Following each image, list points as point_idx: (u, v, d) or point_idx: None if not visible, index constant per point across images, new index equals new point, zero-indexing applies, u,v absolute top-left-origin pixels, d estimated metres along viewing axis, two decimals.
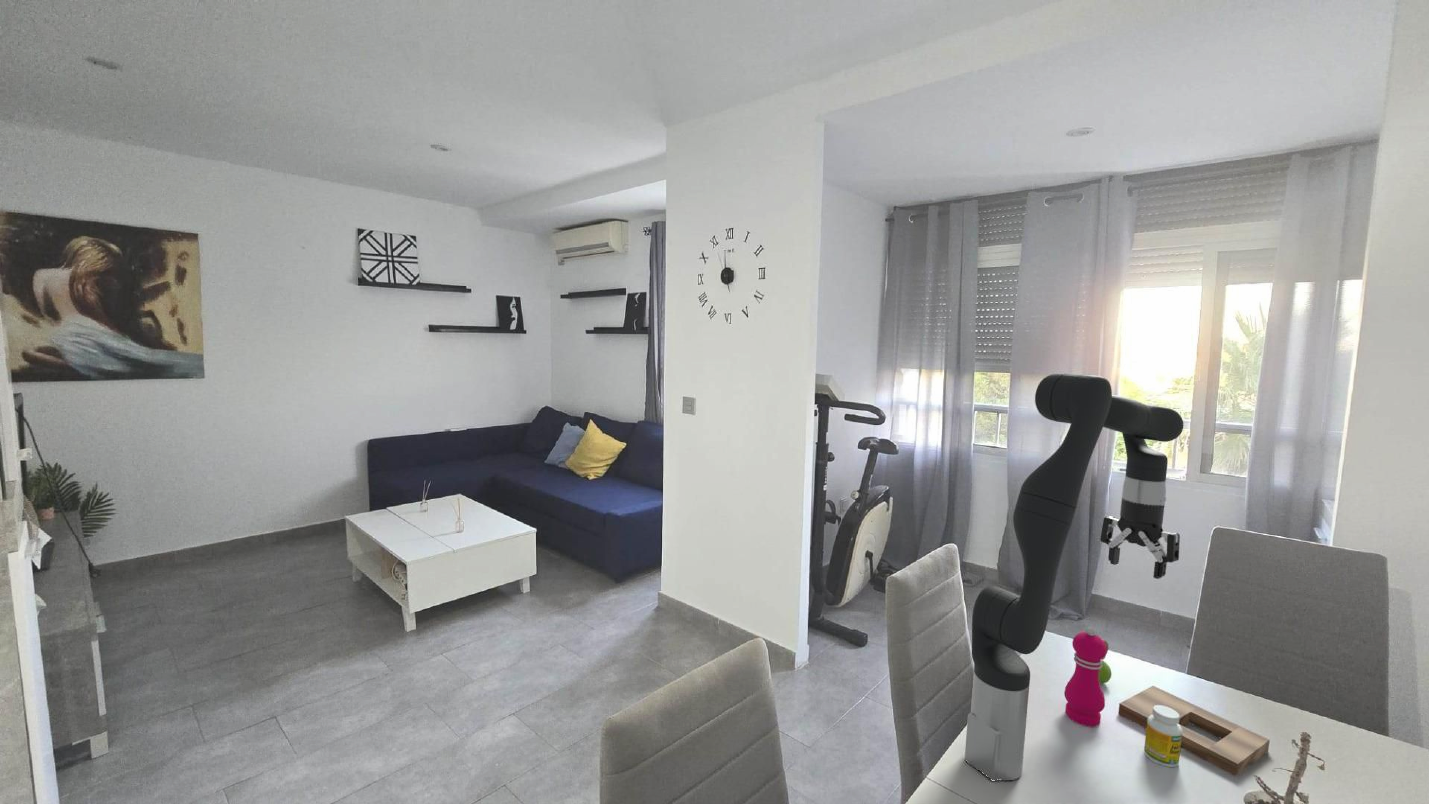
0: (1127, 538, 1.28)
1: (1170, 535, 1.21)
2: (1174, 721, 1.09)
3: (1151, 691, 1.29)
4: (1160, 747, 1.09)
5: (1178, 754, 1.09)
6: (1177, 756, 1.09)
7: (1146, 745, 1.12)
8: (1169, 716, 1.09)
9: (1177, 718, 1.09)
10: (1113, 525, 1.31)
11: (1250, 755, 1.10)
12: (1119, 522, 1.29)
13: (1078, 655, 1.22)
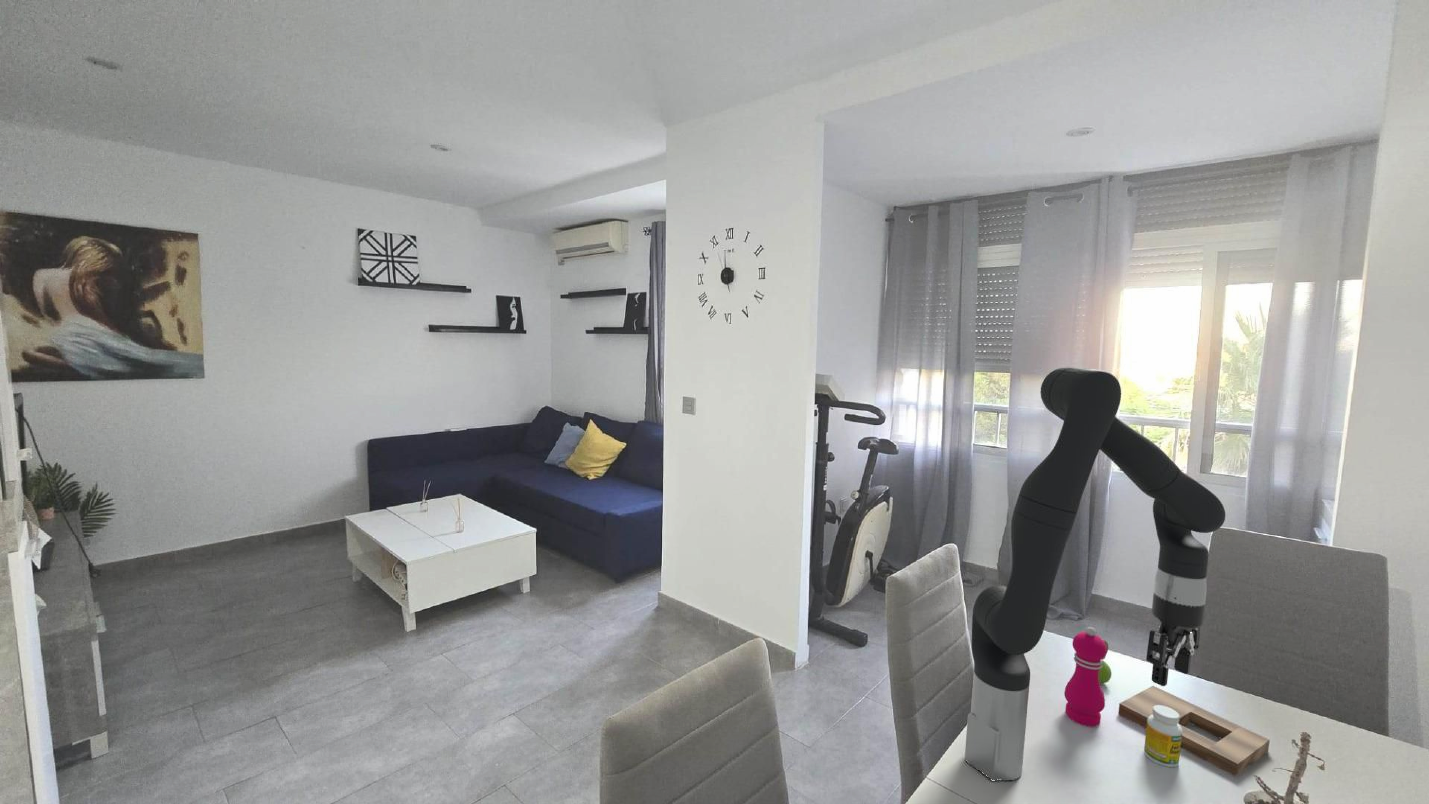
0: None
1: None
2: (1174, 721, 1.09)
3: (1151, 691, 1.29)
4: (1160, 747, 1.09)
5: (1178, 754, 1.09)
6: (1177, 756, 1.09)
7: (1146, 745, 1.12)
8: (1169, 716, 1.09)
9: (1177, 718, 1.09)
10: None
11: (1250, 755, 1.10)
12: (1172, 634, 1.06)
13: (1078, 655, 1.22)
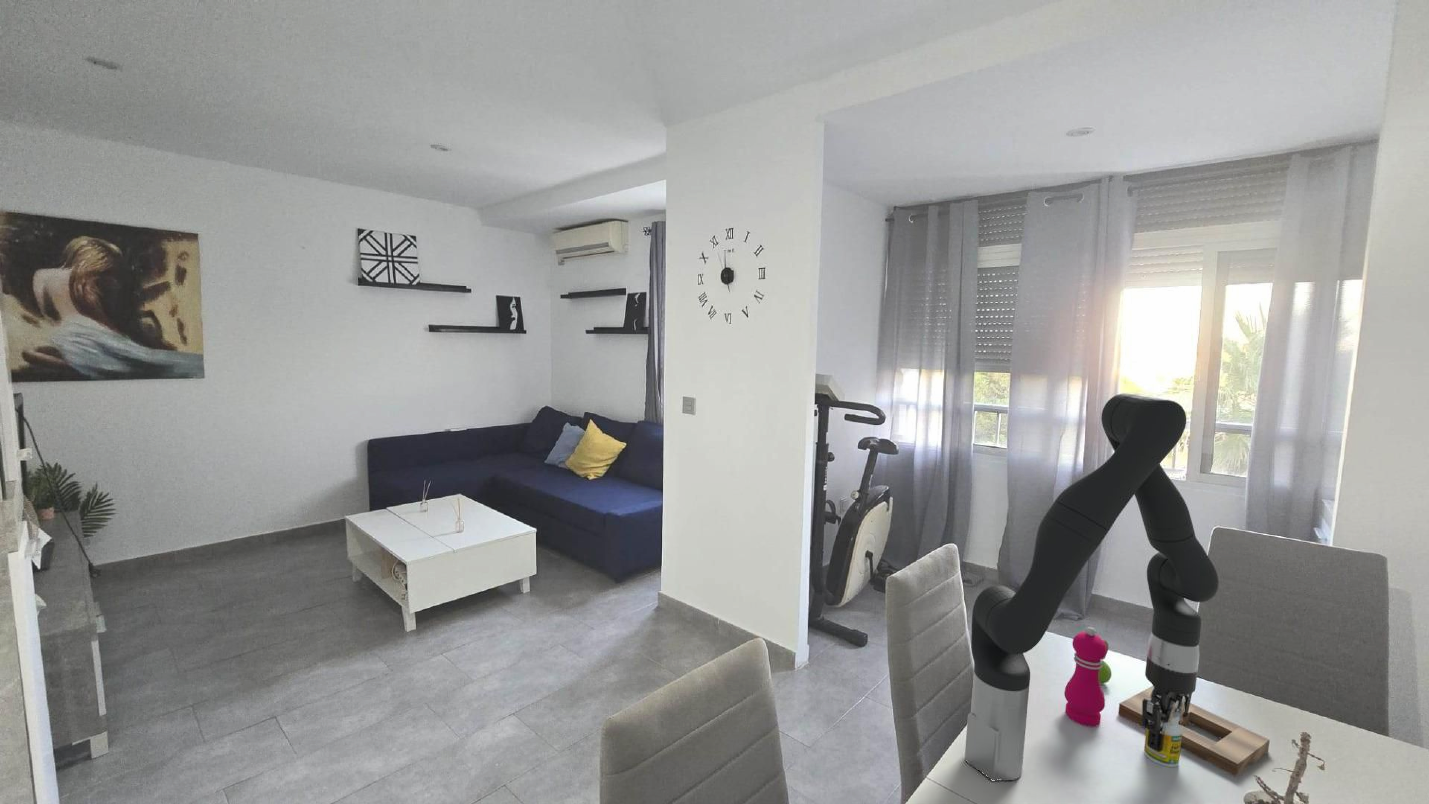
0: None
1: None
2: (1174, 721, 1.09)
3: (1151, 691, 1.29)
4: None
5: (1178, 754, 1.09)
6: (1177, 756, 1.09)
7: (1146, 745, 1.12)
8: None
9: (1177, 718, 1.09)
10: None
11: (1250, 755, 1.10)
12: (1165, 700, 1.08)
13: (1078, 655, 1.22)
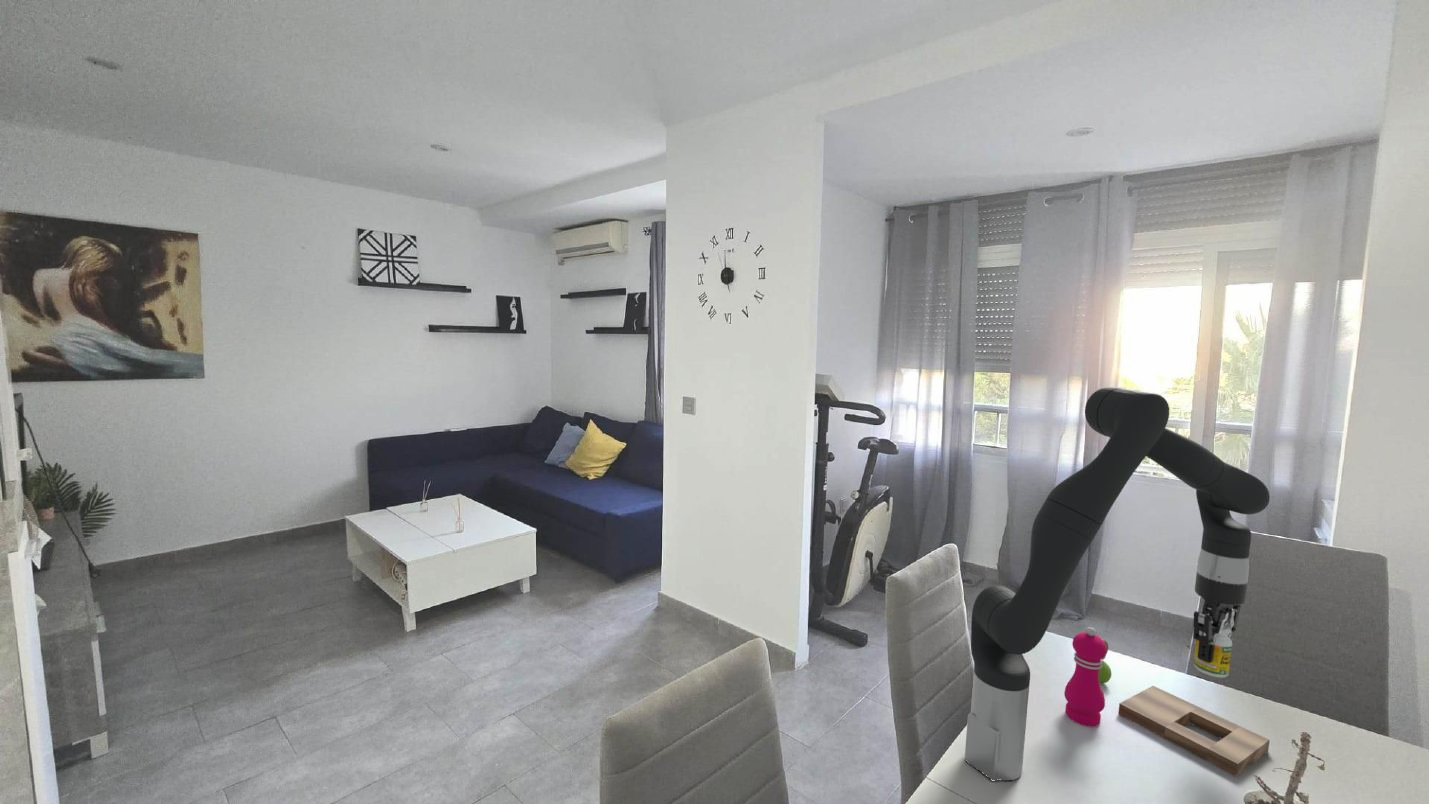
0: None
1: None
2: (1224, 633, 1.13)
3: (1151, 691, 1.29)
4: None
5: (1228, 665, 1.13)
6: (1227, 667, 1.13)
7: (1196, 658, 1.16)
8: None
9: (1227, 630, 1.13)
10: None
11: (1250, 755, 1.10)
12: (1215, 612, 1.12)
13: (1078, 655, 1.22)
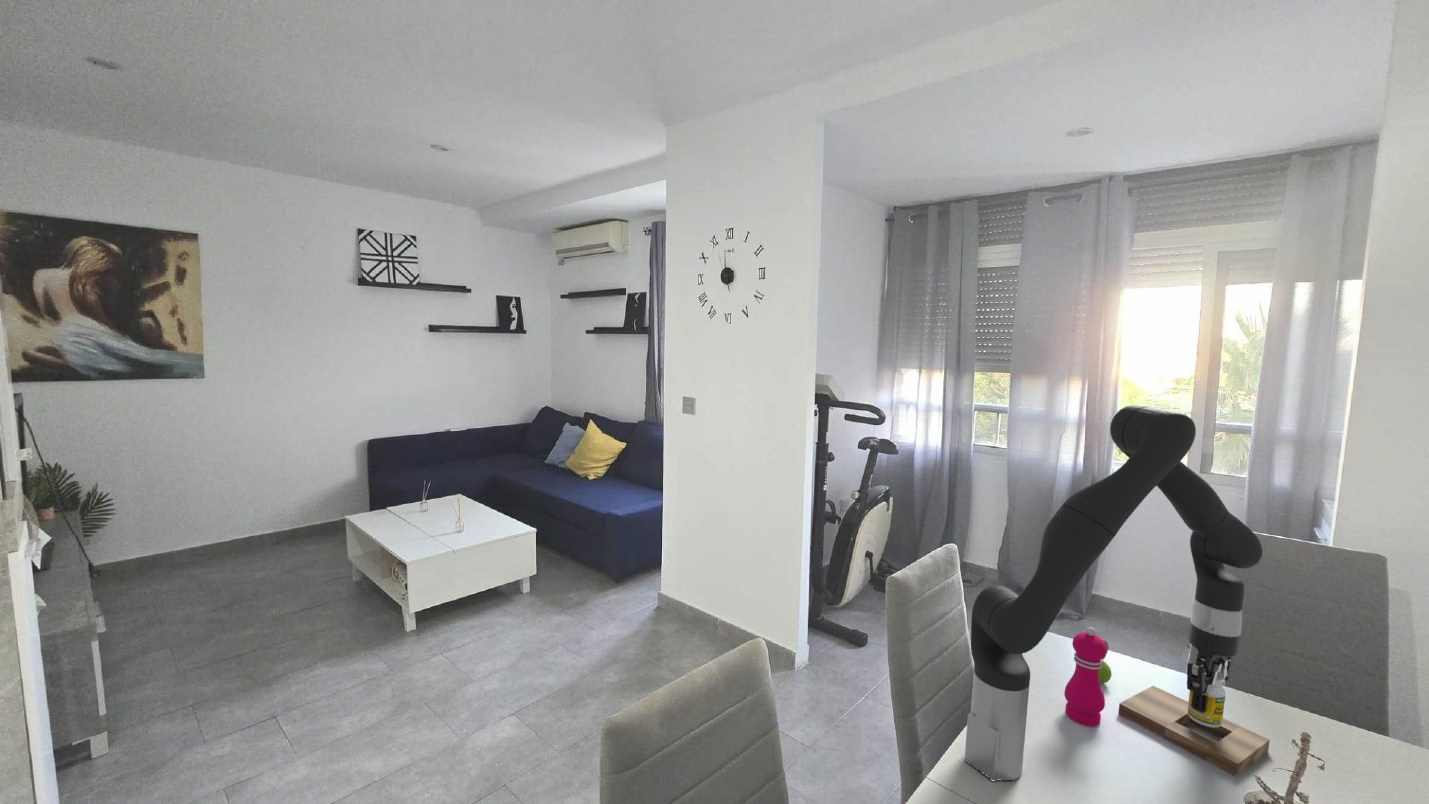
0: None
1: None
2: (1218, 683, 1.14)
3: (1151, 691, 1.29)
4: None
5: (1221, 715, 1.14)
6: (1220, 717, 1.14)
7: (1190, 707, 1.17)
8: None
9: (1220, 681, 1.14)
10: None
11: (1250, 755, 1.10)
12: (1209, 663, 1.13)
13: (1078, 655, 1.22)
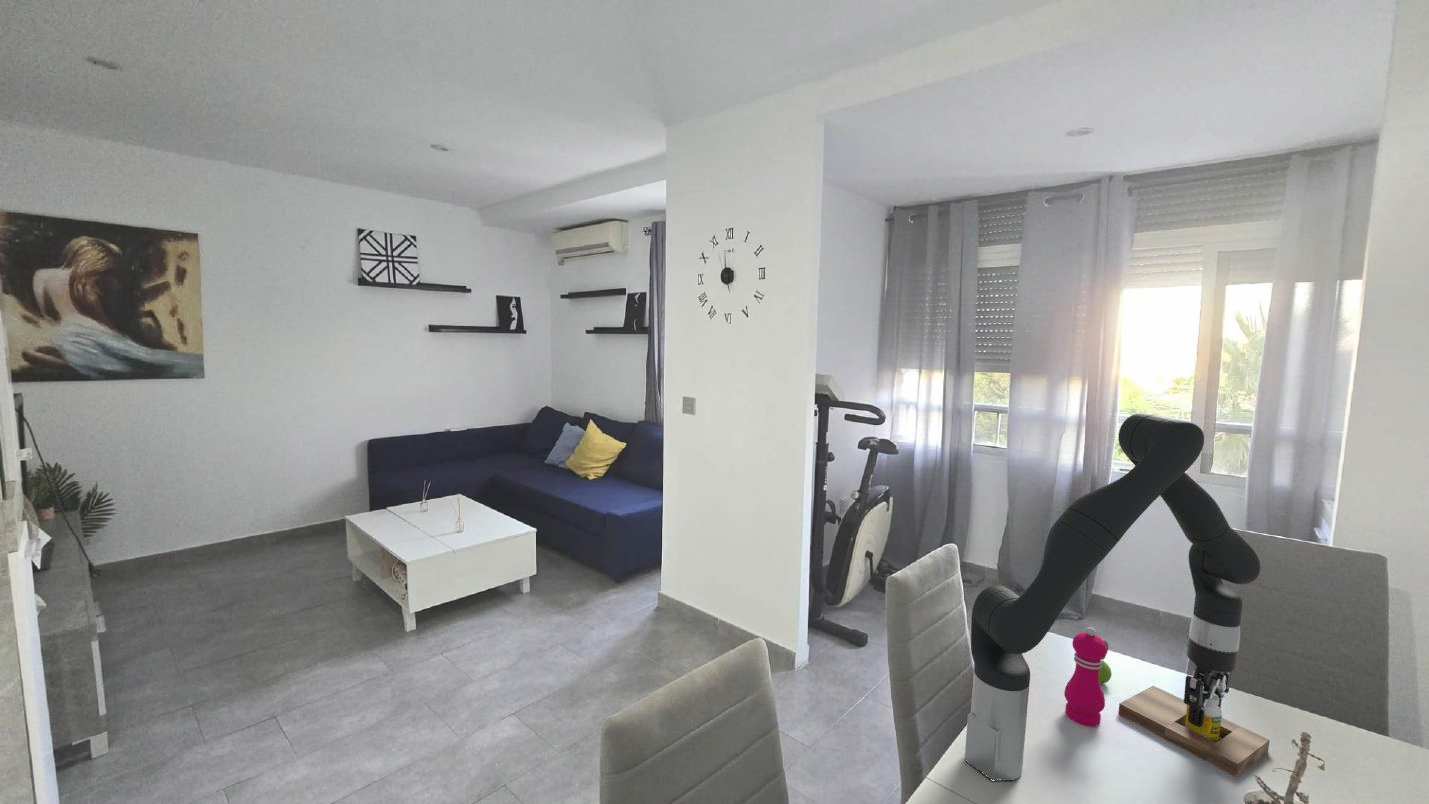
0: None
1: None
2: (1214, 703, 1.14)
3: (1151, 691, 1.29)
4: (1201, 728, 1.15)
5: (1218, 734, 1.15)
6: (1217, 736, 1.15)
7: (1186, 726, 1.18)
8: None
9: (1217, 700, 1.15)
10: None
11: (1250, 755, 1.10)
12: (1207, 678, 1.13)
13: (1078, 655, 1.22)
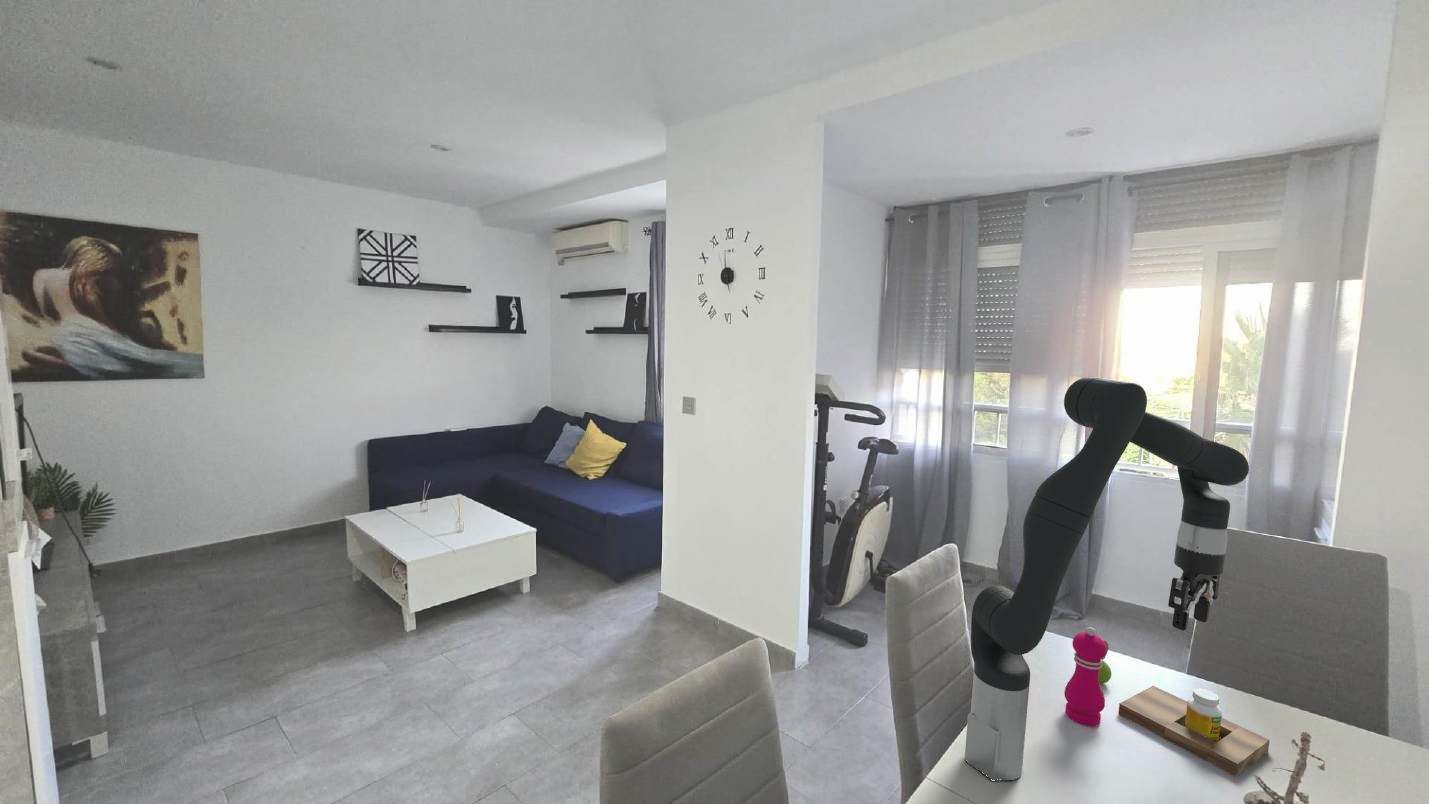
0: None
1: None
2: (1214, 703, 1.14)
3: (1151, 691, 1.29)
4: (1201, 728, 1.15)
5: (1218, 734, 1.15)
6: (1217, 736, 1.15)
7: (1186, 726, 1.18)
8: (1209, 698, 1.15)
9: (1217, 700, 1.15)
10: None
11: (1250, 755, 1.10)
12: (1193, 581, 1.13)
13: (1078, 655, 1.22)
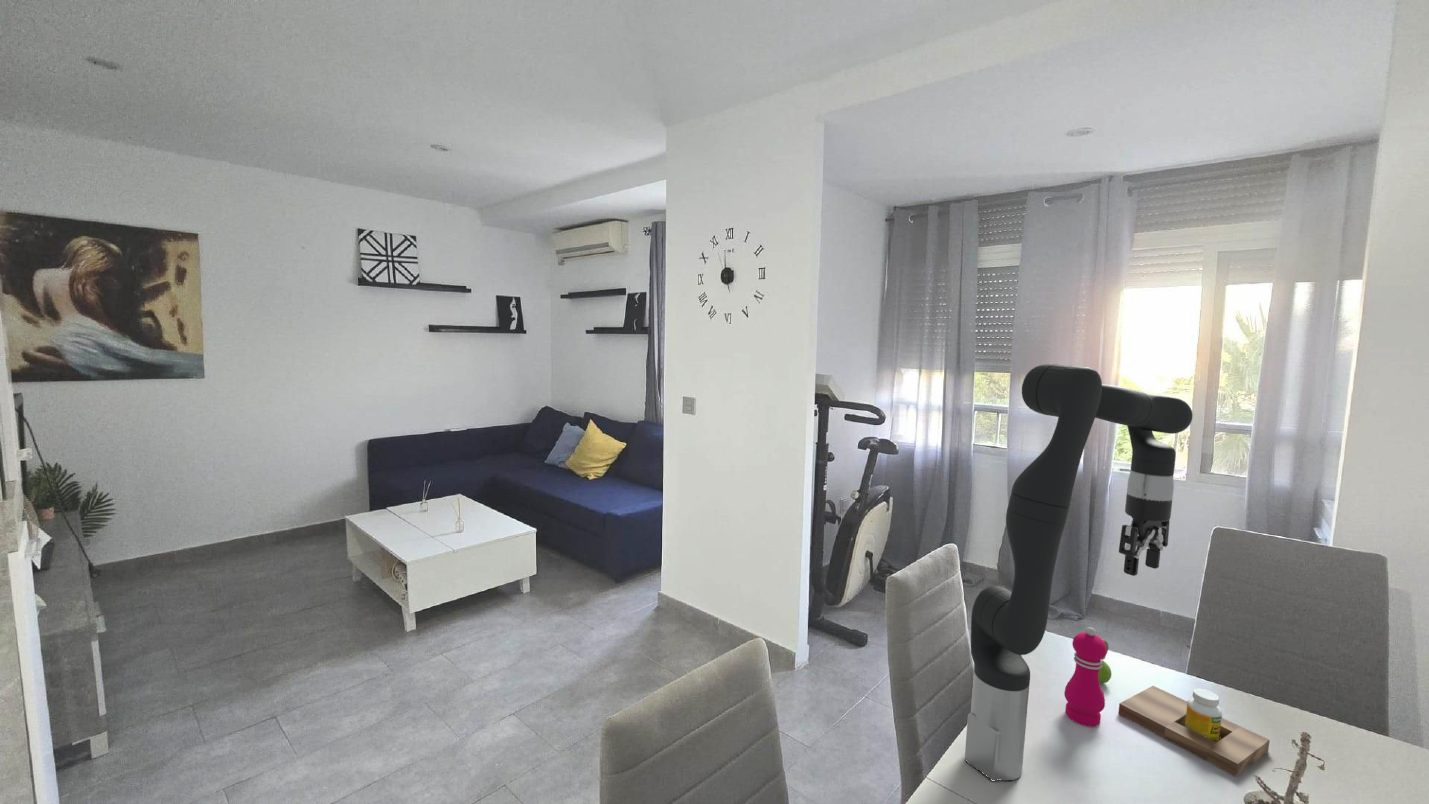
0: None
1: (1168, 520, 1.21)
2: (1214, 703, 1.14)
3: (1151, 691, 1.29)
4: (1201, 728, 1.15)
5: (1218, 734, 1.15)
6: (1217, 736, 1.15)
7: (1186, 726, 1.18)
8: (1209, 698, 1.15)
9: (1217, 700, 1.15)
10: None
11: (1250, 755, 1.10)
12: (1142, 527, 1.17)
13: (1078, 655, 1.22)
